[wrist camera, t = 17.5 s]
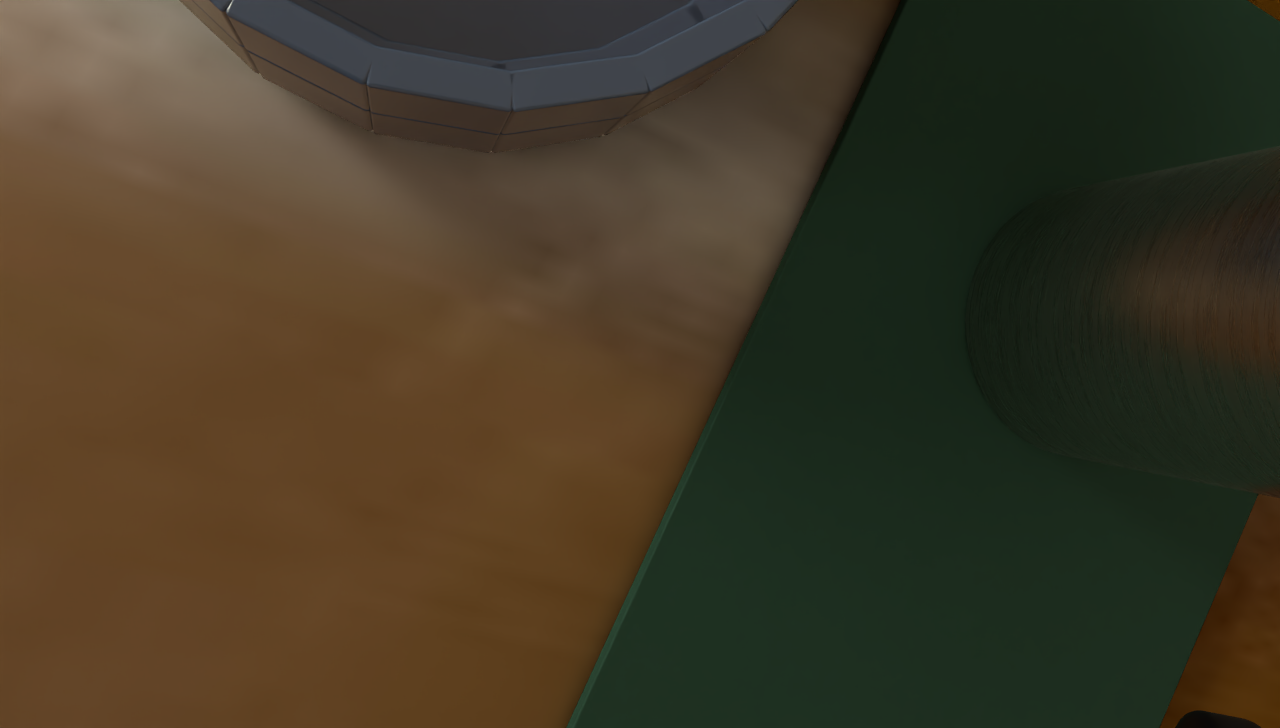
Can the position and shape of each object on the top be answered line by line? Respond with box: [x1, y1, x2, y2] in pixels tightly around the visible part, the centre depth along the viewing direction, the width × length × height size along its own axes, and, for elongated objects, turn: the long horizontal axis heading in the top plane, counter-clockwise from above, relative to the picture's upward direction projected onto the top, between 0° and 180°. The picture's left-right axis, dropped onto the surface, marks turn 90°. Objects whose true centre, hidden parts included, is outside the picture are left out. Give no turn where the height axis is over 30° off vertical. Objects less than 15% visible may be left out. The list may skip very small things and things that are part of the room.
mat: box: [566, 0, 1280, 728], centre depth 22 cm, size 20×12×1 cm, turn 154°
